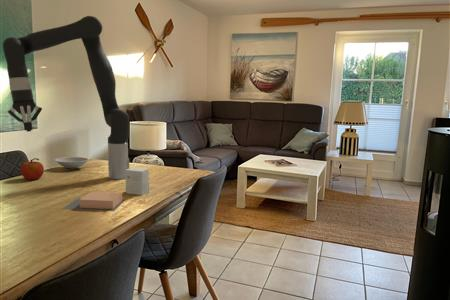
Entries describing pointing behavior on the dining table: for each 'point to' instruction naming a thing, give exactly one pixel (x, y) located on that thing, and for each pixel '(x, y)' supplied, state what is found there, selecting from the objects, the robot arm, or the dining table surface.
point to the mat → (76, 205)
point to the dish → (72, 161)
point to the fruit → (32, 170)
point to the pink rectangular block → (100, 200)
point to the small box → (137, 181)
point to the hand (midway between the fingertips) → (29, 131)
